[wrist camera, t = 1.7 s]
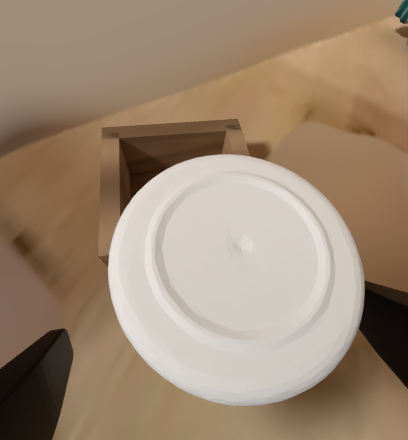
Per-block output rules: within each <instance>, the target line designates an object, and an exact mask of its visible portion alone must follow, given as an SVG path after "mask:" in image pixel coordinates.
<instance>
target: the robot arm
mask: <svg viewBox="0 0 408 440" xmlns="http://www.w3.org/2000/svg"><path fill="white" fill-rule="evenodd" d="M364 283H365V296H364V309H363V313H362V318H361V322H360V325H359V329H360V331H361V332H362V333H363V334H364V336H365V338H366V339H367V340H368V342H369V343H370V344H371V346H372V347H373V348H374V350H375V351H376V352H377V353H378V355H379V356H380V357H381V358H382V359H383V360H384V362H385V363H386V364H387V365H388V366H389V367H390V369H391V370H392V371H393V372H394V373H395V374H396V376H397V377H398V378H399V379H400V380H401V381H402V383H403V384H404V385H405V386H406V387H407V388H408V293H406V292H403V291H399V290H395V289H392V288H389V287H385V286H382V285H378V284H374V283H371V282H367V281H364ZM72 361H73V349H72V345H71V342H70V338H69V335H68V332H67V330H66V329H64V328H63V329H57V330H51V331H49V332H47V333H46V334H45V335H44V336H42V337H41V338H40V339H38V340H37V341H36V342H34V343H33V344H32V345H31V346H29V347H28V348H27V349H25V350H24V351H23V352H22V353H20V354H19V355H18V356H16V357H15V358H14V359H12V360H11V361H10V362H8V363H7V364H6V365H5V366H3V367H2V368H1V369H0V440H52V438H53V435H54V432H55V429H56V426H57V423H58V420H59V416H60V412H61V408H62V404H63V400H64V396H65V391H66V387H67V383H68V378H69V374H70V369H71V365H72Z"/></svg>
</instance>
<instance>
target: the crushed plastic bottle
mask: <svg viewBox="0 0 408 440" xmlns="http://www.w3.org/2000/svg"><path fill="white" fill-rule="evenodd" d="M395 16H396V17H399V18H400V22H402V23H404V24H407V23H408V0H404V1H403V2H402V4H401V5H400V7H399V9H398V10H397V12H396V13H395Z"/></svg>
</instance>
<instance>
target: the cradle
mask: <svg viewBox="0 0 408 440" xmlns="http://www.w3.org/2000/svg"><path fill="white" fill-rule="evenodd" d="M222 154H234V155H244V156H250V154H249V151H248V148H247V145H246V142H245V139H244V136H243V133H242V130H241V127H240V124H239V121H238V119H230V120H214V121H199V122H183V123H167V124H152V125H136V126H121V127H105V128H102V142H101V177H100V212H99V247H98V257H99V258H100V259H101V260H102V261H103V262H104V263H105V264H106V265H107V267H108V264H109V251H110V247H111V242H112V238H113V235H114V232H115V229H116V226H117V224H118V221H119V219H120V217H121V215H122V213H123V212H124V210H125V208H126V207H127V205H128V204H129V203H130V201H131V190H130V174H131V173H142V172H153V171H164V170H166V169H168V168H170V167H172V166H174V165H176V164H179V163H181V162H184V161H187V160H190V159H194V158H197V157H203V156H209V155H222Z"/></svg>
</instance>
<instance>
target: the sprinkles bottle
mask: <svg viewBox="0 0 408 440" xmlns="http://www.w3.org/2000/svg"><path fill="white" fill-rule="evenodd" d="M108 278H109V287H110V293H111V299H112V302H113V306H114V309H115V312H116V315H117V318H118V320H119V323H120V325H121V327H122V329H123V331H124V333H125V335H126V336H127V338H128V340H129V341H130V342H131V344H132V345H133V347H134V348H135V349H136V351H137V352H138V353H139V355H140V356H141V357H142V358H143V359H144V360H145V361H146V363H147V364H148V365H149V366H150V367H151V368H153V369H154V370H155V371H156V372H157V373H158V374H160V375H161V376H162V377H163V378H165V379H166V380H168V381H169V382H171V383H172V384H174V385H175V386H177V387H178V388H180V389H182V390H184V391H186V392H188V393H190V394H192V395H195V396H197V397H200V398H203V399H205V400H208V401H211V402H215V403H220V404H224V405H236V406H257V405H266V404H271V403H276V402H281V401H283V400H286V399H289V398H292V397H294V396H296V395H298V394H300V393H302V392H304V391H306V390H308V389H310V388H312V387H313V386H315V385H316V384H318V383H319V382H320V381H322V380H323V379H324V378H326V377H327V376H328V375H329V374H330V373H331V372H332V371H333V370H334V369H335V368H336V366H337V365H338V364H339V363H340V361H341V360H342V359H343V357H344V356H345V354H346V353H347V351H348V350H349V348H350V346H351V344H352V342H353V340H354V338H355V336H356V333H357V331H358V328H359V325H360V322H361V318H362V313H363V309H364V296H365V283H364V271H363V266H362V261H361V258H360V254H359V251H358V248H357V246H356V243H355V240H354V238H353V236H352V234H351V232H350V231H349V229H348V227H347V225H346V223H345V221H344V220H343V218H342V217H341V215H340V214H339V212H338V211H337V210H336V209H335V207H334V206H333V205H332V204H331V203H330V201H329V200H328V199H327V198H326V197H325V196H324V195H323V194H322V193H321V192H320V191H319V190H318V189H317V188H315V187H314V186H313V185H311V184H310V183H309V182H307V181H306V180H304V179H303V178H301V177H300V176H298V175H297V174H295V173H294V172H292V171H290V170H288V169H286V168H283V167H281V166H279V165H277V164H274V163H272V162H269V161H266V160H263V159H259V158H255V157H250V156H244V155H234V154H222V155H209V156H203V157H197V158H194V159H190V160H187V161H184V162H181V163H179V164H176V165H174V166H172V167H170V168H168V169H166V170H165V171H163V172H161V173H160V174H158V175H157V176H156V177H154V178H153V179H151V180H150V181H149V182H148V183H147V184H145V185H144V186H143V187H142V188H141V189H140V190H139V191H138V192H137V193H136V194H135V196H134V197H133V198H132V200H131V201H130V203H129V204H128V205H127V207H126V208H125V210H124V212H123V213H122V215H121V217H120V219H119V221H118V224H117V226H116V229H115V232H114V235H113V238H112V242H111V247H110V251H109V264H108Z"/></svg>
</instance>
